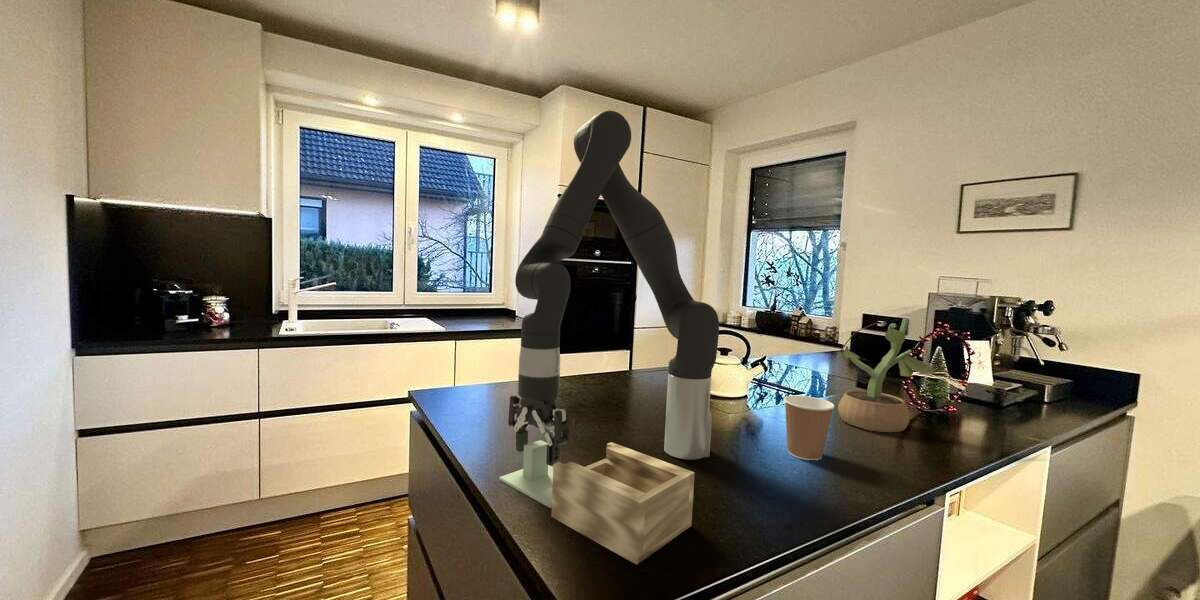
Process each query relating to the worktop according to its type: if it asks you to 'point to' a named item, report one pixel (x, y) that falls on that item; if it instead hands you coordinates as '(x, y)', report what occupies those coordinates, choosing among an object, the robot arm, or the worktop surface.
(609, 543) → the box
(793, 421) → the coffee cup
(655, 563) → the worktop surface
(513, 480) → the lid
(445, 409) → the worktop surface
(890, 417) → the potted plant
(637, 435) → the worktop surface
